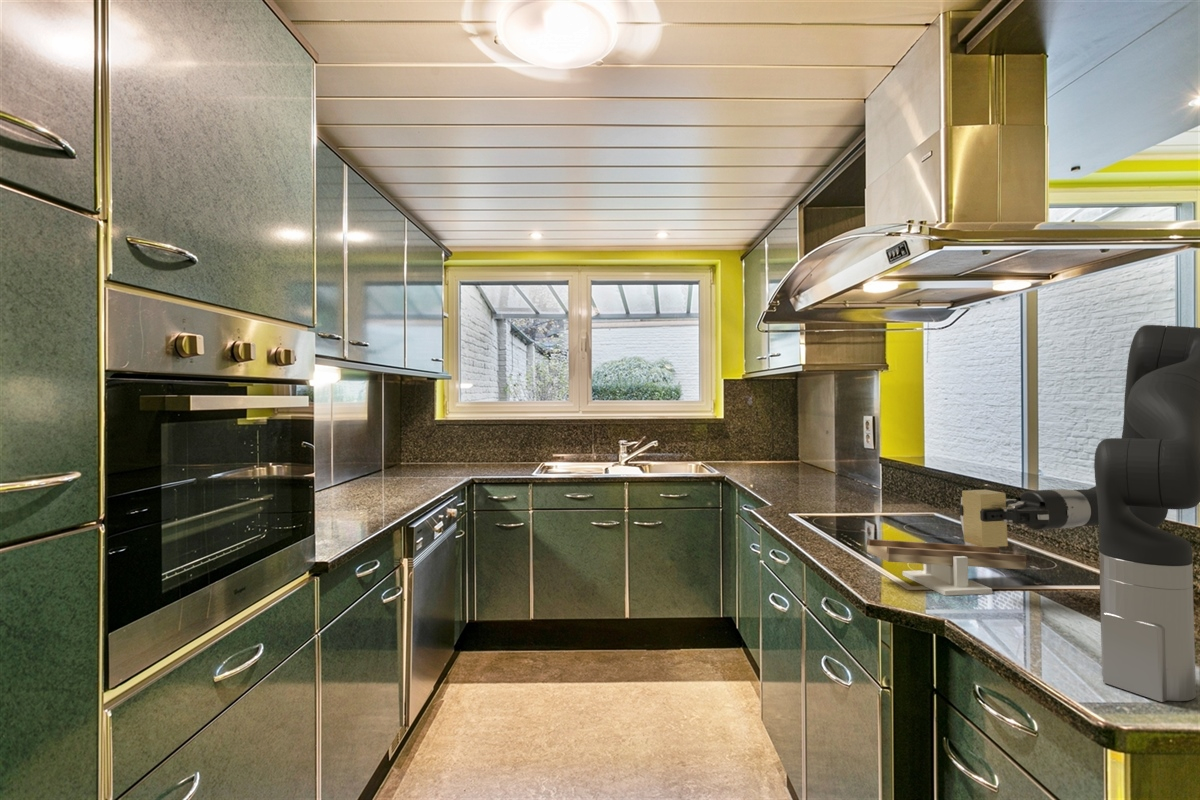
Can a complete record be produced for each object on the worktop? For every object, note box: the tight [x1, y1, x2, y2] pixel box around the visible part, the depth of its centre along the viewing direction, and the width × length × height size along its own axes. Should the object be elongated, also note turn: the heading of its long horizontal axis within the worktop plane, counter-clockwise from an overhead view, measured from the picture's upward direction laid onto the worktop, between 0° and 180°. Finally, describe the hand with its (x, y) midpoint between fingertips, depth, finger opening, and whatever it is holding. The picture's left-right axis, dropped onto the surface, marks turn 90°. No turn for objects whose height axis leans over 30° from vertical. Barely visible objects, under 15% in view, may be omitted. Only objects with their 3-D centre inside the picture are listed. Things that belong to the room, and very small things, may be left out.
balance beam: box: [866, 538, 1027, 570], centre depth 123 cm, size 30×8×3 cm, turn 95°
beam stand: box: [902, 556, 993, 597], centre depth 123 cm, size 10×14×7 cm
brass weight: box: [961, 489, 1009, 548], centre depth 112 cm, size 5×5×10 cm
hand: (971, 513), depth 112 cm, fingers closed on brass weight, 5 cm apart
